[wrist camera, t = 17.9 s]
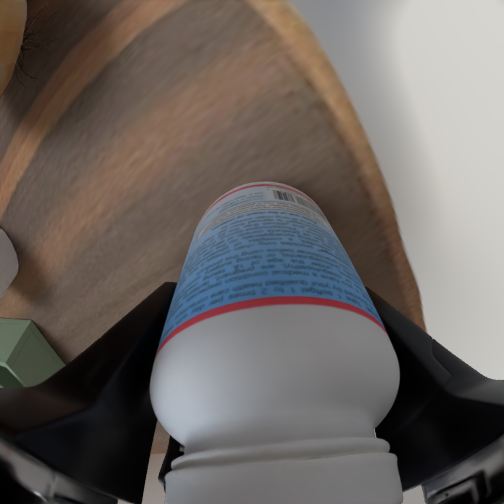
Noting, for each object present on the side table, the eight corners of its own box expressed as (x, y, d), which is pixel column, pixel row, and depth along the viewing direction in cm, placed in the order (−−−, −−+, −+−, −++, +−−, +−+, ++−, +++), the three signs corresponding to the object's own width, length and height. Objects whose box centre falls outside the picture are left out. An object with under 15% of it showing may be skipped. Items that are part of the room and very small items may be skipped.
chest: (31, 319, 19) (5, 363, 14) (91, 392, 26) (78, 431, 21) (-9, 317, 20) (-32, 350, 15) (44, 382, 26) (30, 414, 22)
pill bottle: (170, 232, 12) (69, 494, 3) (278, 149, 10) (431, 503, 1) (250, 311, 15) (252, 529, 5) (349, 252, 13) (447, 483, 3)
